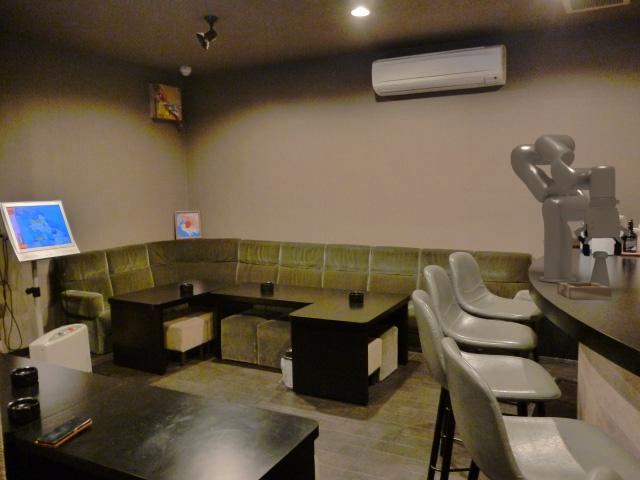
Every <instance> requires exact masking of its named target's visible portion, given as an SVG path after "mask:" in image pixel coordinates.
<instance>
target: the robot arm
mask: <svg viewBox="0 0 640 480" xmlns="http://www.w3.org/2000/svg"><path fill="white" fill-rule="evenodd" d="M575 150H576V142H575V140H574V138H573V137H572V136H570V135H568V134H544V135H541V136H539V137H538V138H537V139H536V140H535V142H534V143H525V144H520V145H517V146H515V147H513V149H512V150H511V152H510V164H511V165H510V166H511V168H512V170H513V172H514V174H515V175H516V176H517V177H518V178H519V180H521V181H522V183H523V184H524V185H525V186H526V188H527V189H528V190H529V192H530V193H531V194H532V196H533V197H534V199H535V200H536V201H537V202H539V203H541V204H542V205H541V213H542V214H541V215H542V219H543V220H542V221H543V228H544V230H543V233H544V235H543V237H544V238H543V240H544V241H543V245H544V246H543V275H540V276H539V277H538V279H539V281H541V282H546V283H556V284H558V282H577V277H574V276H573V272H572V271H573V234H574V236H575V237H576V239H577V241H579V242H580V243H581V245H582V247H581V248H582V249H581V250H582V251H581V252H582V254H583V257H590V256H591V251H590V250H591V248H590V247H591V244H589V243H590V242H591V240H593V239H612V240H613V241H614V242H615V243H613V244H614V245H613V255H614V256H617V257H621V256H622V253H623V245H624V243H625V242H626V241H627V239H629V238H628V237H629V236H630V234H631V232H632V230H631V229H629V228H628V227H625V226H623V225H621V219H620V213H619V209H618V207H616V206H617V205H620V204H621V203H620V199H617V198H616V167H615V166H613V165H596V166H592V167H571V165H572V164H573V163H574V161H575V158H576V157H575ZM549 165H550V168H549V169H550V175H551V177H550V176H548V174H547V173H546V172H545V170H543V169H542V168H540V167H538V166H549ZM584 191H588V193H589V194H588V195H589V197H588V196H587V195H586V194H585V193H584ZM568 222H569V223H570V222H583V226H581V227H579V228H578V229H575V230H574V231H573V230H572V229H571V226H570V225H569V223H568ZM621 232H623V235H621ZM581 233H582V234H583V236H582V235H581Z"/></svg>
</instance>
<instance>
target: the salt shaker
mask: <svg viewBox="0 0 640 480" xmlns="http://www.w3.org/2000/svg"><path fill="white" fill-rule="evenodd" d="M592 258H593V259H594V263H593V268H592V272H591V276H590V280H589V282H596V283H599V284H601V285H604V286H607V287H610V285H611V282H610V278H609V271H608V266H607V265H608V264H607V259H608V258H609V254H608V252H606V251H603V250H595V251H594V252H593V253H592Z"/></svg>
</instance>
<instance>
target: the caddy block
mask: <svg viewBox="0 0 640 480" xmlns="http://www.w3.org/2000/svg"><path fill="white" fill-rule="evenodd" d="M612 293H613V290H612V287H610V286H609V287H607V286H604V285H601V284H599V283H596V282H590V281H578V282H577V281H576V282H558V283H557V294H559V295H561V296H564V297H566V298H568V299H570V300H593V301H595V300H602V301H603V300H605V301H606V300H610V301H611V300H612V298H613V297H612V295H613V294H612Z"/></svg>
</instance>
